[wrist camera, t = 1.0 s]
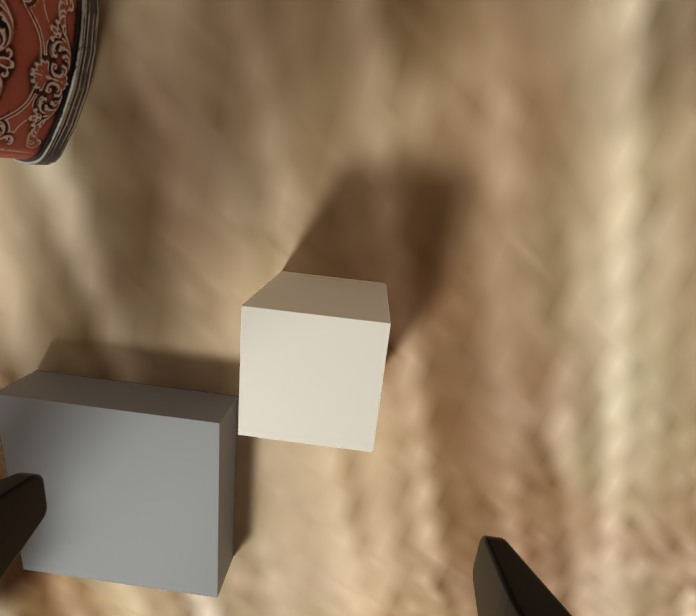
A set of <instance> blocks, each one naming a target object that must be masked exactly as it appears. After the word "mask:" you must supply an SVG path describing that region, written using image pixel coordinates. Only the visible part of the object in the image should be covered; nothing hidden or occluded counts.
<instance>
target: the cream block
mask: <svg viewBox="0 0 696 616" xmlns="http://www.w3.org/2000/svg"><path fill="white" fill-rule="evenodd" d="M390 326H391V321H390V312H389V303H388V294H387V285H386V283H381V282H373V281H364V280H355V279H347V278H338V277H329V276H321V275H312V274H304V273H295V272H286V271H281V272H280V273H279V274H278V275H277V276H275V277H274V278H273V279H272V280H271V281H270V282H268V283H267V284H266V285H265V286H264V287H263V288H262V289H260V290H259V291H258V292H257V293H256V294H255V295H253V296H252V297H251V298H250V299H249V300H248V301H246V302H245V303H244V304H243V305H242V306H241V343H240V380H239V418H238V435H244V436H252V437H259V438H267V439H275V440H282V441H290V442H298V443H305V444H313V445H321V446H328V447H336V448H344V449H351V450H359V451H367V452H373V445H374V438H375V431H376V424H377V417H378V410H379V403H380V396H381V389H382V382H383V375H384V368H385V361H386V354H387V347H388V340H389V333H390Z"/></svg>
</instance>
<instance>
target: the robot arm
mask: <svg viewBox="0 0 696 616" xmlns="http://www.w3.org/2000/svg"><path fill="white" fill-rule="evenodd" d="M46 511H47V500H46V493H45V486H44V480H43V478H42V476H41V475H39V474H33V473H25V472H20V473H16V474H13V475H11V476H8V477H6V478H4V479H1V480H0V580H1V579H2V577H3V576H4V574H5V573H6V571H7V570H8V569H9V567H10V566H11V564H12V563H13V561H14V560H15V559H16V557H17V556H18V554H19V553H20V552H21V550H22V549H23V547H24V546H25V544H26V543H27V542H28V540H29V539H30V537H31V536H32V534H33V533H34V532H35V530H36V529H37V527H38V526H39V524H40V523H41V522H42V520H43V518H44V516H45V514H46ZM473 583H474V590H475V598H476V605H477V612H478V616H572V615H571V614H570V613H569V612H568V611H567V610H566V608H565V607H564V606H563V605H562V604H561V603H560V602H559V600H558V599H557V598H556V597H555V596H554V595H553V594H552V592H551V591H550V590H549V589H548V588H547V587H546V586H545V585H544V583H543V582H542V581H541V580H540V579H539V578H538V577H537V575H536V574H535V573H534V572H533V571H532V570H531V569H530V567H529V566H528V565H527V564H526V563H525V562H524V561H523V560H522V558H521V557H520V556H519V555H518V554H517V553H516V552H515V550H514V549H513V548H512V547H511V546H510V545H509V544H508V542H507V541H506V540H504V539H503V538H500V537H492V536H483V537H482V538H481V539H480V542H479V546H478V550H477V554H476V558H475V562H474V566H473Z"/></svg>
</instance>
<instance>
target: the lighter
mask: <svg viewBox="0 0 696 616" xmlns="http://www.w3.org/2000/svg"><path fill="white" fill-rule="evenodd" d="M98 19H99V6H98V0H0V157H1V158H11V159H12V160H14V161H17V162H20V163H23V164H35V165H49V164H52V163H54V162H56V161H57V160H58V159H59V157H60V156H61V155H62V153H63V151H64V149H65V147H66V145H67V143H68V141H69V139H70V137H71V135H72V133H73V131H74V129H75V127H76V124H77V121H78V118H79V115H80V113H81V110H82V107H83V104H84V101H85V98H86V96H87V93H88V88H89V83H90V78H91V73H92V68H93V63H94V58H95V53H96V41H97V30H98Z"/></svg>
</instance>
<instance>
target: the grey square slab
mask: <svg viewBox="0 0 696 616" xmlns="http://www.w3.org/2000/svg"><path fill="white" fill-rule="evenodd" d="M236 430H237V396H231V395H223V394H215V393H208V392H200V391H192V390H184V389H176V388H169V387H161V386H153V385H145V384H138V383H130V382H122V381H114V380H106V379H99V378H91V377H83V376H75V375H68V374H60V373H52V372H44V371H35V372H33V373H31V374H29V375H27V376H26V377H24V378H22V379H20V380H18V381H16V382H14V383H12V384H11V385H9V386H7V387H5V388H3V389H1V390H0V437H1V443H2V449H3V454H4V460H5V466H6V472H7V477H8V476H11V475H13V474H16V473H20V472H25V473H33V474H39V475H41V476H42V478H43V480H44V486H45V493H46V500H47V511H46V514H45V516H44V518H43V520H42V522H41V523H40V524H39V526H38V527H37V529H36V530H35V532H34V533H33V534H32V536H31V537H30V539H29V540H28V542H27V543H26V544H25V546H24V547H23V549H22V550H21V558H22V564H23V569H24V570H31V571H37V572H44V573H51V574H58V575H65V576H72V577H79V578H86V579H93V580H100V581H107V582H114V583H120V584H127V585H134V586H141V587H148V588H155V589H162V590H169V591H176V592H183V593H190V594H197V595H203V596H210V597H218V595H219V592H220V589H221V587H222V584H223V582H224V579H225V576H226V574H227V571H228V569H229V566H230V564H231V561H232V558H233V542H234V505H235V467H236Z"/></svg>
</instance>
